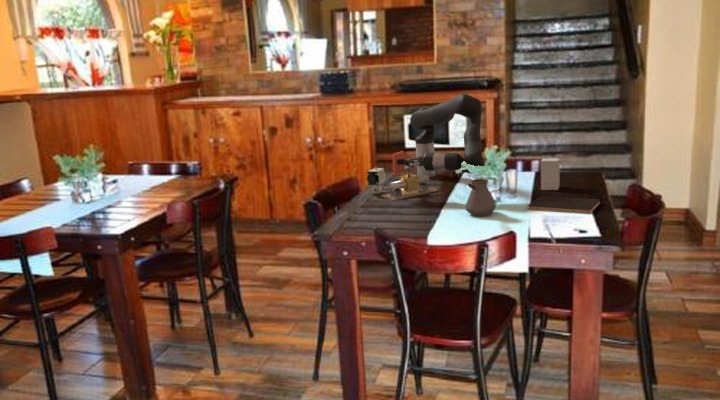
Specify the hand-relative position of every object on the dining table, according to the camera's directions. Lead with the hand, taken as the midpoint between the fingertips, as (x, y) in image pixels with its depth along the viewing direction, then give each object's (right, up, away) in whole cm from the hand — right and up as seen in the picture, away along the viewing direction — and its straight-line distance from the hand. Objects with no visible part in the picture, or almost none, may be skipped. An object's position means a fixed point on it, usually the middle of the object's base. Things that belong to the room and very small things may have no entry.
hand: (398, 161), depth 269 cm
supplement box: (+66, -12, +2) cm, 67 cm away
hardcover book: (+61, -20, -30) cm, 71 cm away
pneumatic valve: (-8, -13, +19) cm, 25 cm away
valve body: (+6, -14, +12) cm, 19 cm away
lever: (+2, -4, +5) cm, 7 cm away
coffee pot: (+27, -23, -36) cm, 51 cm away
